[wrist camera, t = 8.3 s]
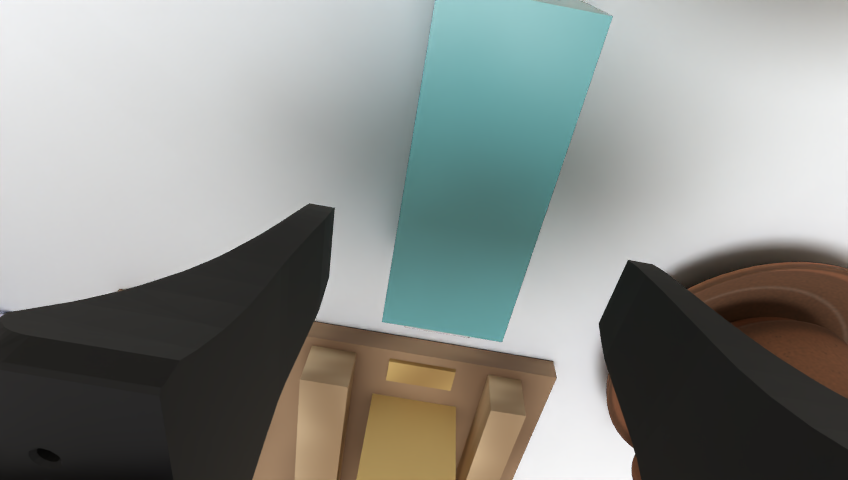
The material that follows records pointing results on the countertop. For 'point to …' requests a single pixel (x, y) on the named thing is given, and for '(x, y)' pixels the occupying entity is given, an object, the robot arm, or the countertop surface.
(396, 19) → the countertop surface
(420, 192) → the teal plug block
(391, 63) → the countertop surface
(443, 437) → the ochre plug block
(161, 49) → the countertop surface
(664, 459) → the robot arm
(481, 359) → the comb board
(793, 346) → the cup and saucer
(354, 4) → the countertop surface
